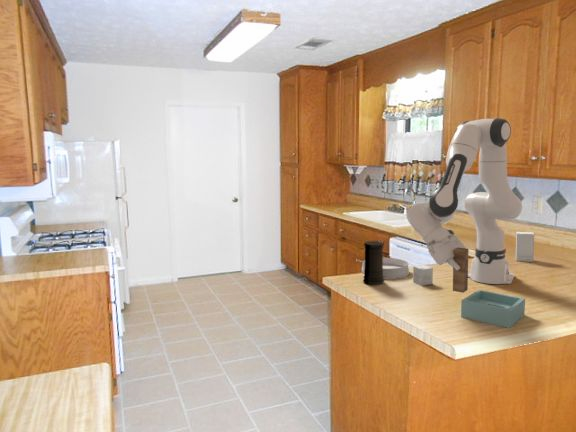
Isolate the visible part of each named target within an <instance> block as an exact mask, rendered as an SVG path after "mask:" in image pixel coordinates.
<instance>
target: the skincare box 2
mask: <svg viewBox="0 0 576 432" xmlns="http://www.w3.org/2000/svg"><path fill="white" fill-rule="evenodd" d="M515 232H516V234H515V261H516V262H531V263H533V262H534V257H535V256H534V253H535V250H534V249H535V233H534V232H532V231H515Z"/></svg>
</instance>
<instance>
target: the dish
mask: <svg viewBox="0 0 576 432" xmlns="http://www.w3.org/2000/svg"><path fill="white" fill-rule="evenodd" d="M364 270H365V259H364V260H362V262H361V274H363V275H364V274H365V272H364ZM409 271H410V270H409V262H408V261H406V260H403V259H399V258H395V257H383V277H384V278H383V280H384V279H385V280H388V279H389V280H391V279H393V280H394V279H402V278H405V277H408V275H409Z"/></svg>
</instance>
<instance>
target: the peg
mask: <svg viewBox="0 0 576 432" xmlns="http://www.w3.org/2000/svg"><path fill="white" fill-rule="evenodd" d="M453 254H454V257H453V259H454V261H455V262H456V263H457V264H459V265H460V266H461V268H460V269H459V270H456V269H455V268H454V267H452V291H453V292H457V293H461V294H462V293H465V292H467V291H468V288H469V287H468V283H469V277H468V274H469V248H459V247H458V248H456V249H454V251H453Z"/></svg>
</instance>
